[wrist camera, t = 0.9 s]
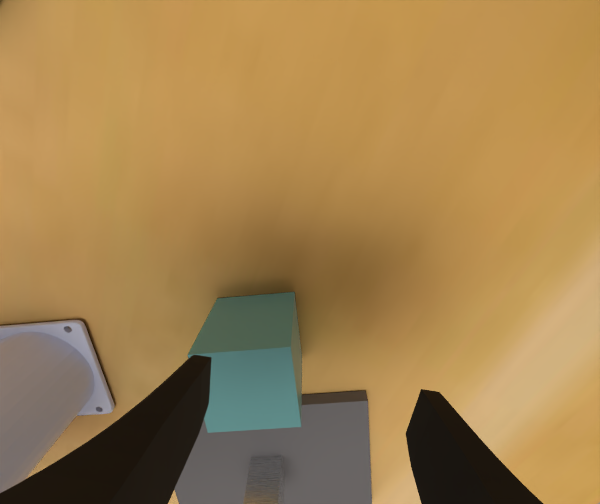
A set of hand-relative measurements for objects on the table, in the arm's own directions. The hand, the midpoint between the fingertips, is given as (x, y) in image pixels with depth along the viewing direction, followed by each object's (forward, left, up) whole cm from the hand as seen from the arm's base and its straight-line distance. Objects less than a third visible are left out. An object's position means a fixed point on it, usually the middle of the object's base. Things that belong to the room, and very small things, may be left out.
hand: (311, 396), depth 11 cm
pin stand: (-5, -16, -11) cm, 20 cm away
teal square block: (-4, -4, -11) cm, 12 cm away
